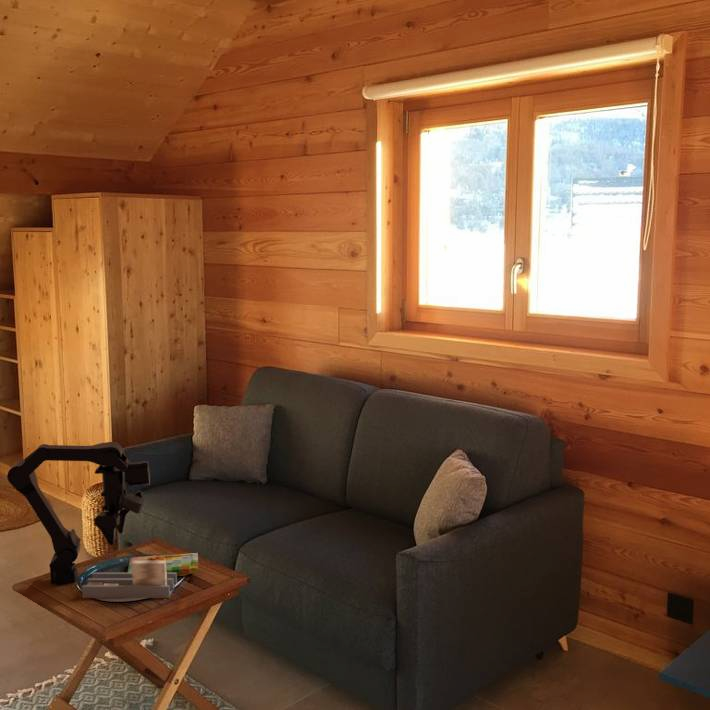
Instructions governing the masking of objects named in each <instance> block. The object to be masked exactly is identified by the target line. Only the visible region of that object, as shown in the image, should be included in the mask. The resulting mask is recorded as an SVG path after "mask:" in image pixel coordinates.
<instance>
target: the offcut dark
mask: <svg viewBox="0 0 710 710" xmlns="http://www.w3.org/2000/svg"><path fill="white" fill-rule="evenodd" d="M86 585H103V582H88V583H86Z"/></svg>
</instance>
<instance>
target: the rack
mask: <svg viewBox="0 0 710 710" xmlns="http://www.w3.org/2000/svg"><path fill="white" fill-rule="evenodd" d="M86 581H87V582H86V584H83V585H82V586H81V593H82V598H83V599H93V598H94V599H117V598H118V599H119V598H120V599H169V598H170V596H171V595H172V593H173V591H174V589H175V587H176V585H177V583H178V576H177V572H167V585H133V577H132V572H128V571H127V572H123V571H121V572H113V571H112V572H108V571H107V572H102V571H101V572H98V571H97V572H94V571H93V572H92V573H91V577H89V578H87V579H86ZM88 582H103V585H87V584H88ZM104 583H108V584H119V585H104Z"/></svg>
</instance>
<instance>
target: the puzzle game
mask: <svg viewBox="0 0 710 710" xmlns="http://www.w3.org/2000/svg"><path fill="white" fill-rule="evenodd" d="M133 561H166V571H167V572H177V577H181V576H183V577H184V576H187V575H193V574H197V573H198V572H199V554H198V552H196V553H192V552H191V553H178V554H164V555H163V554H162V555H161V554H160V555H154V554H153V555H148V556H133V557H130V558H129V563H128V568H127V572H132V562H133Z"/></svg>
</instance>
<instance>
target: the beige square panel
mask: <svg viewBox="0 0 710 710" xmlns="http://www.w3.org/2000/svg"><path fill="white" fill-rule="evenodd" d="M132 577H133V585H167V571H166V561H133V562H132Z"/></svg>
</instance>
